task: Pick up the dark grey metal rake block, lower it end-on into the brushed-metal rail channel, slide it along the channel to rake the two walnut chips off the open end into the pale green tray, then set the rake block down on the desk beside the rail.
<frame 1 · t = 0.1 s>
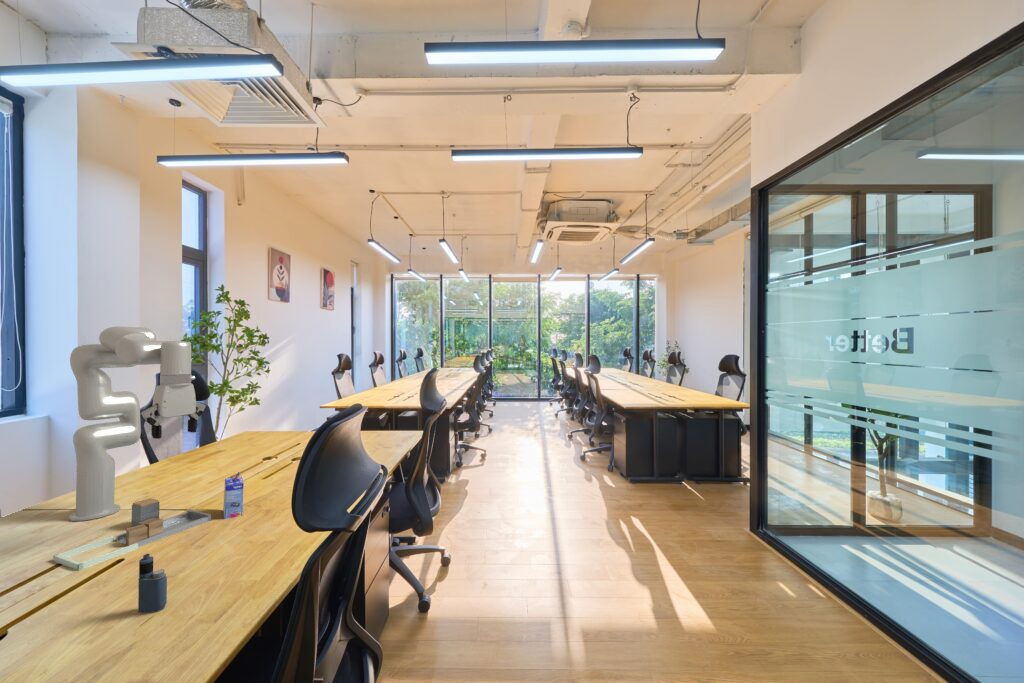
hand: (175, 435, 127), 31 cm above the table, fingers open, 9 cm apart
chip b: (136, 541, 120), point 1 cm above the table, touching rail
rail: (164, 533, 127), on the table
tray: (96, 558, 113), on the table
vaping device: (152, 610, 90), on the table
ink cartridge box: (233, 516, 141), on the table
rake block: (145, 527, 132), on the table
chip a: (150, 534, 125), point 1 cm above the table, touching rail
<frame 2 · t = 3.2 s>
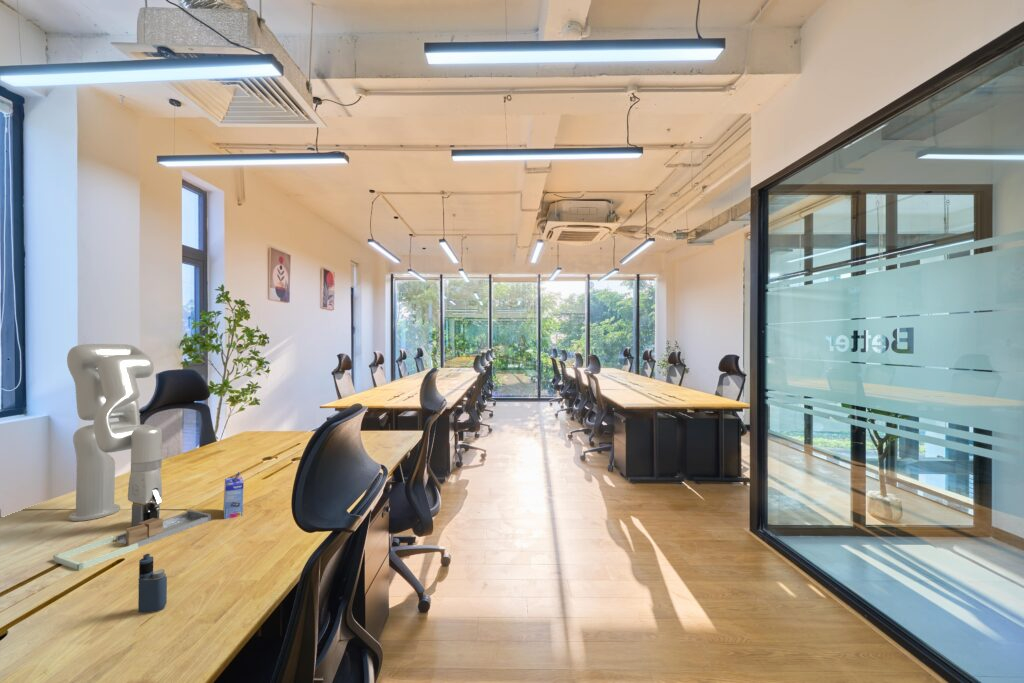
hand: (145, 521, 132), 2 cm above the table, fingers closed on rake block, 5 cm apart
rake block: (145, 527, 132), on the table, touching gripper
everything else where it was.
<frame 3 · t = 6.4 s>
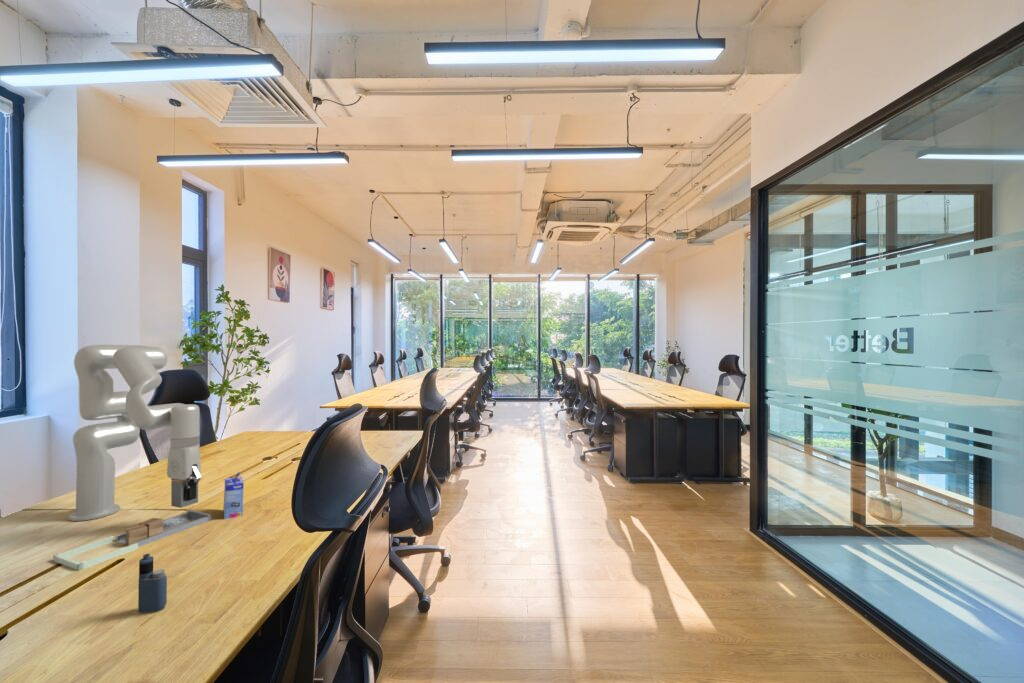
hand: (184, 498, 133), 9 cm above the table, fingers closed on rake block, 5 cm apart
rake block: (184, 504, 133), point 7 cm above the table, touching gripper
everything else where it was.
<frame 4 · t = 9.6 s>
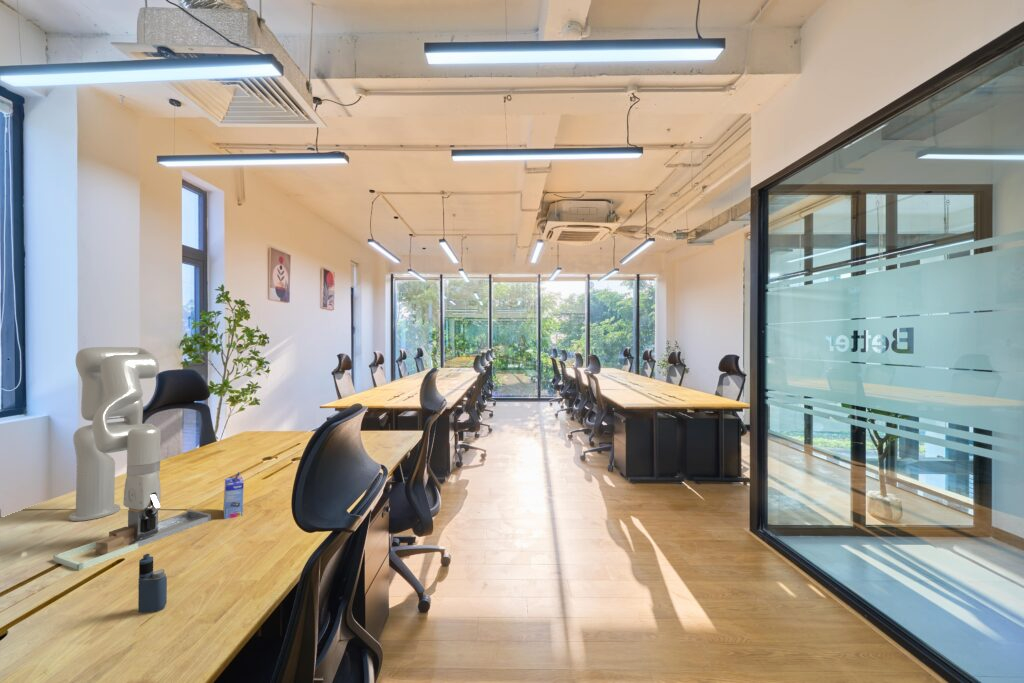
hand: (142, 528, 123), 4 cm above the table, fingers closed on rake block, 5 cm apart
chip b: (109, 553, 114), resting on tray, touching chip a
rake block: (142, 535, 123), point 2 cm above the table, touching chip a, gripper
chip a: (121, 543, 119), point 1 cm above the table, touching chip b, rake block
everything else where it was.
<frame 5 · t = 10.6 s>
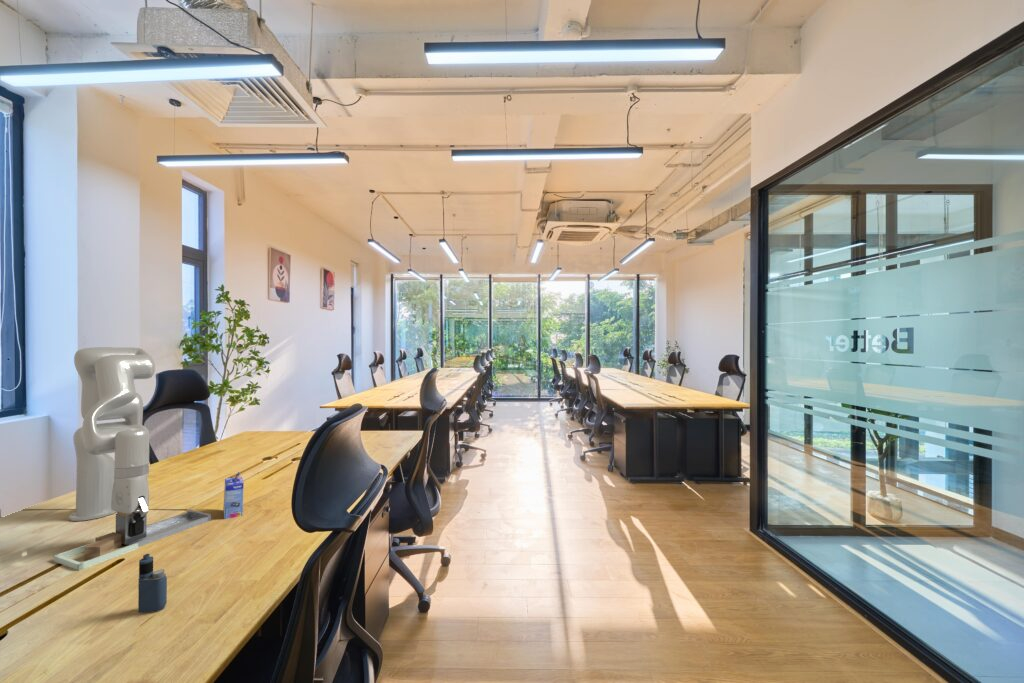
hand: (130, 532, 120), 4 cm above the table, fingers closed on rake block, 5 cm apart
chip b: (99, 558, 112), resting on tray, touching chip a
rake block: (131, 539, 120), point 2 cm above the table, touching chip a, gripper
chip a: (108, 550, 116), resting on tray, touching chip b, rake block
everything else where it was.
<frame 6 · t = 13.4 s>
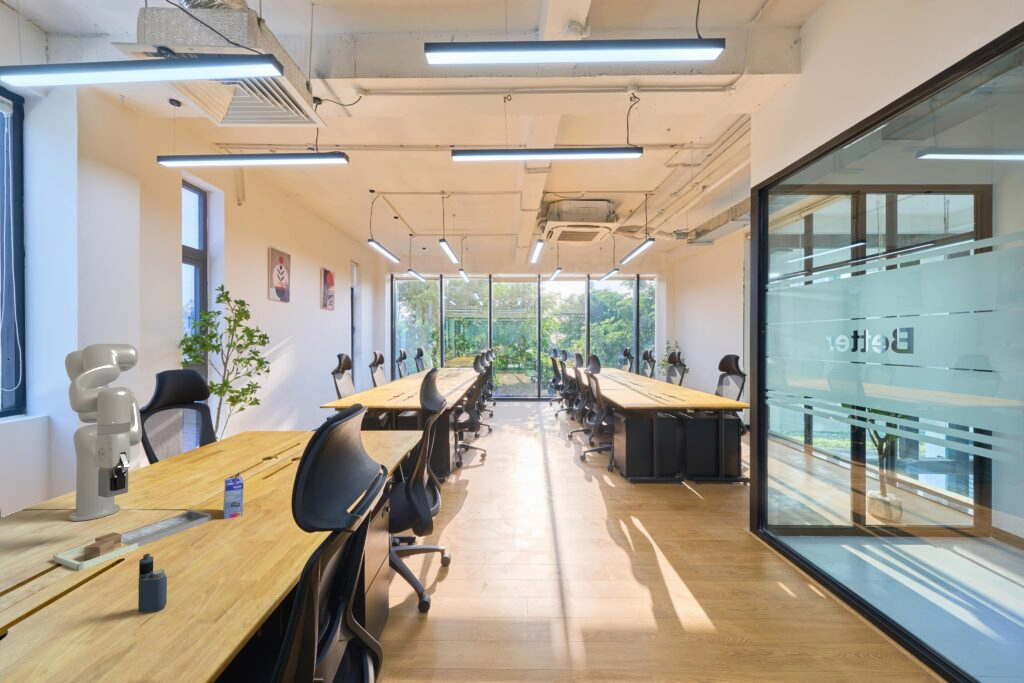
hand: (113, 487, 125), 15 cm above the table, fingers closed on rake block, 5 cm apart
chip b: (99, 558, 112), resting on tray
rake block: (113, 494, 125), point 13 cm above the table, touching gripper
chip a: (108, 550, 116), resting on tray
everything else where it was.
when the fingers open (3 cm above the table, at t = 15.5 s): rake block stays where it is, on the table.
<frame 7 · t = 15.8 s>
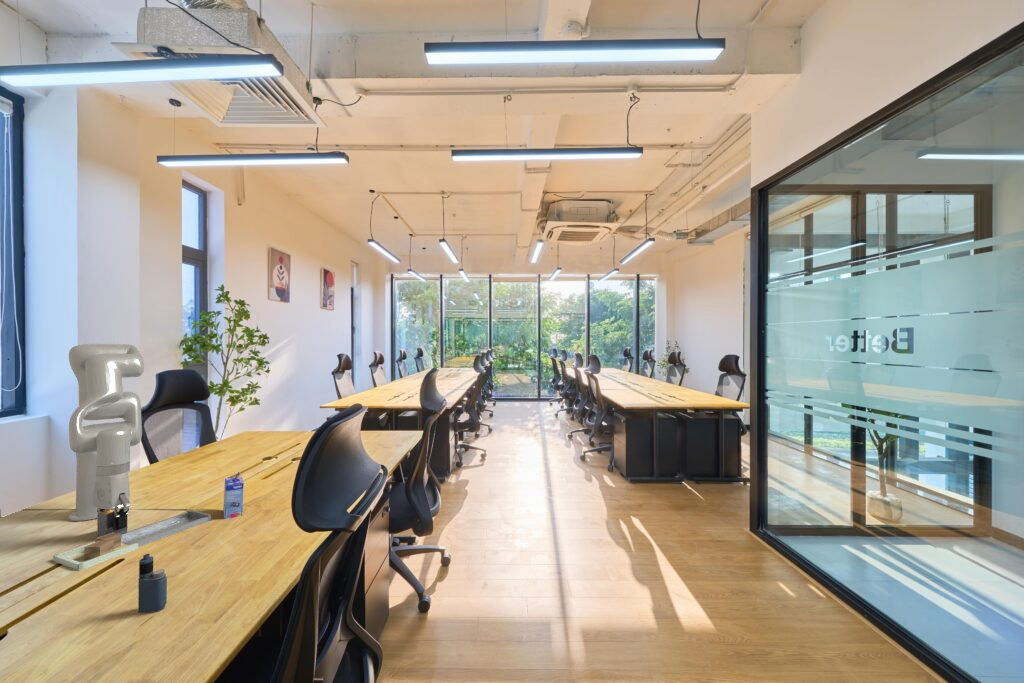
hand: (112, 526, 125), 3 cm above the table, fingers open, 8 cm apart
rake block: (112, 537, 125), on the table
everything else where it was.
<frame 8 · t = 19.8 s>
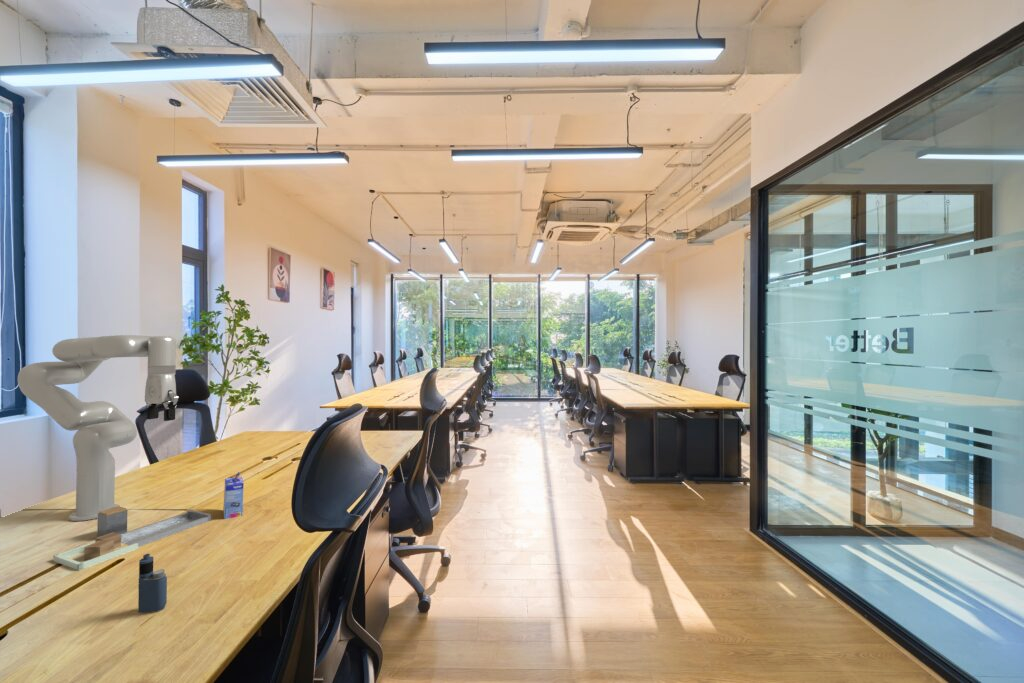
hand: (161, 419, 143), 33 cm above the table, fingers open, 9 cm apart
nothing on the table moved.
at the end: chip a inside the target area on the tray (3.6 cm from its centre), point 0.4 cm above the tray's base; chip b inside the target area on the tray (1.9 cm from its centre), point 0.4 cm above the tray's base; rake block inside the target area (0.1 cm from its centre), on the table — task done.
